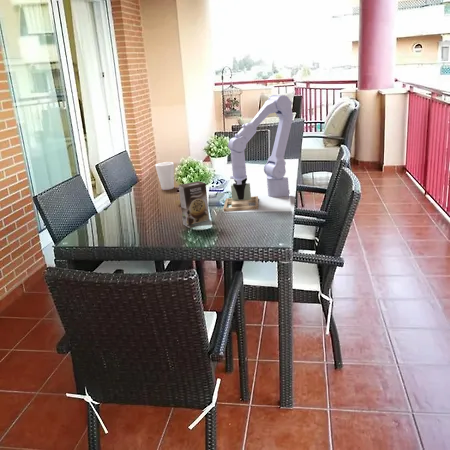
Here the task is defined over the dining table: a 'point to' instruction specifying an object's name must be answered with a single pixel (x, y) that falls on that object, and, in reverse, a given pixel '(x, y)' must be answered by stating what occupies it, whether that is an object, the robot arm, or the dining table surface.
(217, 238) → the dining table surface
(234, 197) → the pale green slab
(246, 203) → the offcut upper
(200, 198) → the brown cookie box
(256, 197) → the rack
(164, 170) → the foam cup
